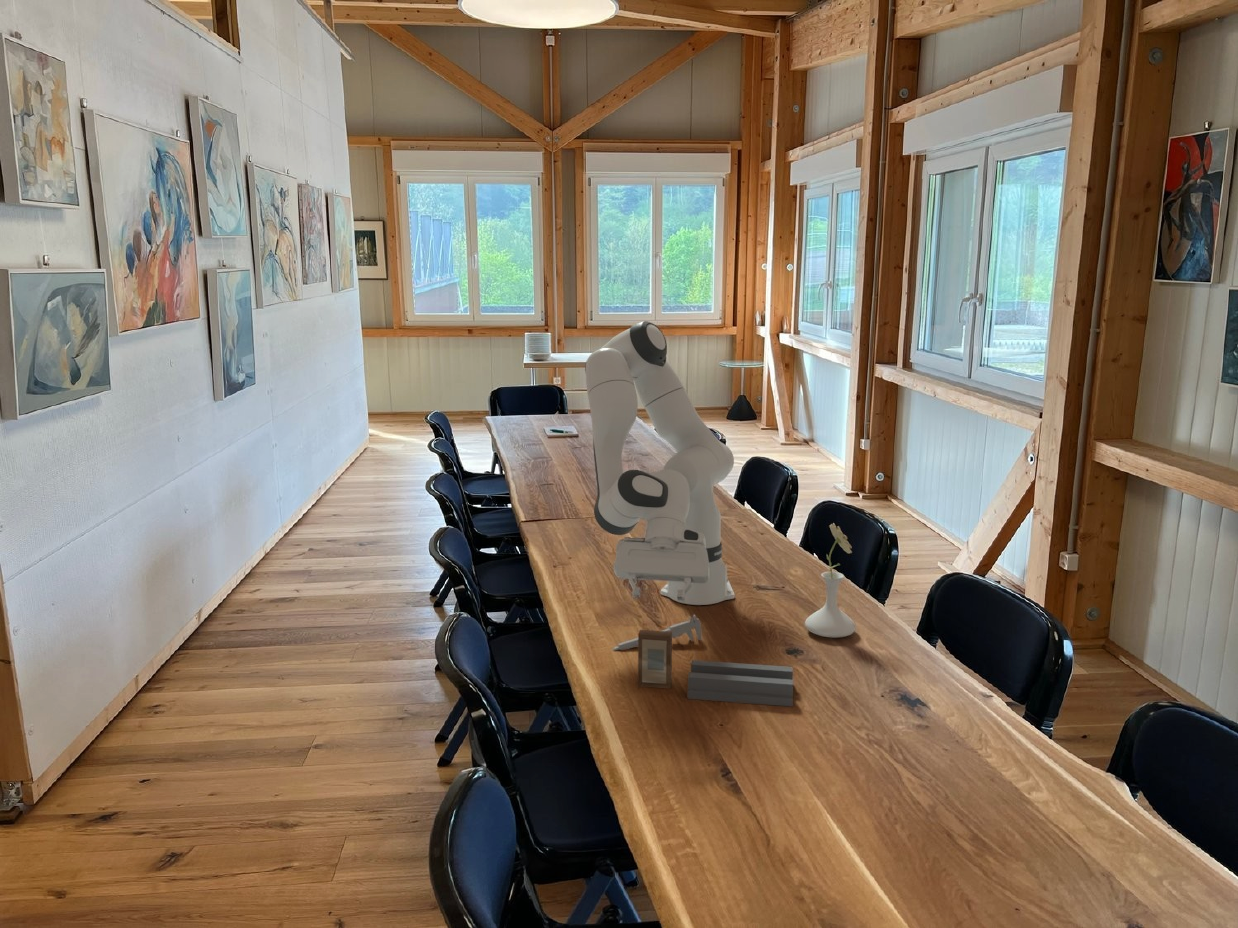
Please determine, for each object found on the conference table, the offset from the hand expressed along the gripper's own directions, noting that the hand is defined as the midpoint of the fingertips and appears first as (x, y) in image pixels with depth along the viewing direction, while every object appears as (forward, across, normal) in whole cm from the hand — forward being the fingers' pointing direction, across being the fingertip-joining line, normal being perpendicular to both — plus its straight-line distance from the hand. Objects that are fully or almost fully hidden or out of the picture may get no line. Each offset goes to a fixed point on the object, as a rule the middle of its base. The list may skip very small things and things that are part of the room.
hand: (658, 597), depth 187 cm
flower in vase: (-7, +36, +28) cm, 46 cm away
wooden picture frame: (+17, +1, +3) cm, 18 cm away
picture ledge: (+17, +18, +3) cm, 25 cm away
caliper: (+4, -2, +18) cm, 18 cm away
